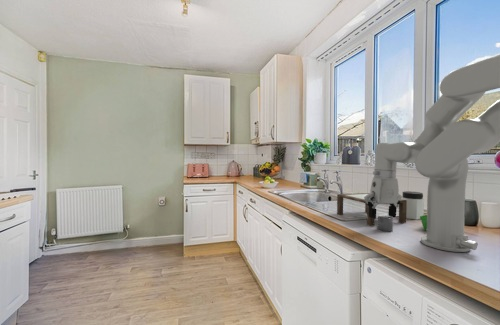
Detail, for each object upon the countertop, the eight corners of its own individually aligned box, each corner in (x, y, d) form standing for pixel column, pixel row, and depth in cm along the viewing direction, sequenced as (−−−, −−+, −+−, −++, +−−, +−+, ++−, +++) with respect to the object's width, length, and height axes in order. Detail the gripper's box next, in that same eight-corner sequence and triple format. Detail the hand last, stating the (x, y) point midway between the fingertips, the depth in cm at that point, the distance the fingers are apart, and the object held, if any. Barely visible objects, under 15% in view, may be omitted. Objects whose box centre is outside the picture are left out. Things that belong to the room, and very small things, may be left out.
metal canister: (395, 231, 95) (396, 218, 95) (384, 232, 94) (385, 219, 93) (385, 227, 100) (385, 215, 100) (374, 228, 99) (374, 216, 98)
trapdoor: (396, 202, 109) (397, 199, 109) (370, 204, 105) (371, 200, 105) (368, 196, 126) (368, 193, 126) (344, 197, 122) (344, 194, 122)
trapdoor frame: (406, 222, 107) (406, 200, 107) (370, 226, 102) (370, 202, 102) (368, 212, 129) (368, 193, 129) (337, 214, 124) (337, 194, 123)
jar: (426, 220, 112) (427, 194, 112) (406, 219, 114) (407, 193, 113) (417, 215, 121) (417, 191, 121) (399, 215, 122) (399, 191, 122)
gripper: (374, 175, 91) (371, 221, 92) (410, 175, 95) (407, 218, 96) (359, 173, 98) (357, 215, 99) (394, 173, 103) (391, 213, 104)
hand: (382, 217), depth 98 cm, fingers open, 9 cm apart
